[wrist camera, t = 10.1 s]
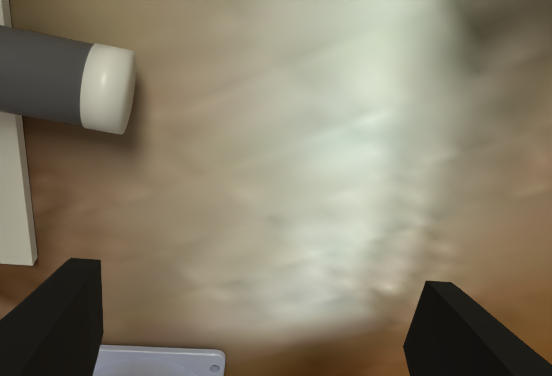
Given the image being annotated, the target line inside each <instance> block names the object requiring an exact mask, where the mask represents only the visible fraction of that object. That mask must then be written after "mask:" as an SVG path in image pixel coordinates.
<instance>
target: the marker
mask: <svg viewBox="0 0 552 376" xmlns="http://www.w3.org/2000/svg"><path fill="white" fill-rule="evenodd" d="M135 82H136V54H135V52H134V51H132V50H127V49H122V48H117V47H113V46H108V45H103V44H98V43H96V44H90V43H85V42H81V41H76V40H71V39H66V38H61V37H56V36H51V35H46V34H41V33H37V32H32V31H27V30H22V29H17V28H12V27H7V26H2V25H0V112H5V113H10V114H16V115H22V116H27V117H33V118H39V119H44V120H50V121H56V122H61V123H67V124H72V125H78V126H83V127H84V128H87V129H92V130H98V131H104V132H109V133H115V134H121V135H122V134H123V133H124V132H125V130H126V127H127V124H128V121H129V117H130V113H131V109H132V103H133V98H134V91H135Z"/></svg>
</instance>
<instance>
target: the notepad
mask: <svg viewBox="0 0 552 376" xmlns="http://www.w3.org/2000/svg"><path fill="white" fill-rule="evenodd" d="M0 25H2V26H7V27H12V24H11V15H10V6H9V0H0ZM37 258H38V256H37V247H36V238H35V229H34V220H33V212H32V203H31V194H30V185H29V176H28V167H27V158H26V149H25V140H24V131H23V122H22V115H16V114H10V113H5V112H0V264H15V265H32V266H33V264H34V263H35V261H36V259H37Z"/></svg>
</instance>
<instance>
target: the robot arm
mask: <svg viewBox="0 0 552 376" xmlns="http://www.w3.org/2000/svg"><path fill="white" fill-rule="evenodd" d="M102 337H103V308H102V282H101V260H94V259H78V258H70V259H69V260H67V261H66V262H65V263H64V264H63V265H62V266H60V267H59V268H58V269H57V270H56V271H55V272H54V273H53V274H52V275H51V276H50V277H49V278H47V279H46V280H45V281H44V282H43V283H42V284H41V285H40V286H39V287H38V288H37V289H35V290H34V291H33V292H32V293H31V294H30V295H29V296H28V297H27V298H25V299H24V300H23V301H22V302H21V303H20V304H19V305H17V306H16V307H15V308H14V309H13V310H12V311H11V312H9V313H8V314H7V315H6V316H5V317H4V318H2V319H1V320H0V376H224V369H225V354H224V352H222V351H220V350H212V349H189V348H165V347H142V346H118V345H101V341H102ZM403 348H404V352H405V356H406V361H407V365H408V369H409V373H410V376H552V365H551V364H550V363H549V362H548V361H546V360H545V359H544V358H543V357H541V356H540V355H539V354H538V353H536V352H535V351H534V350H533V349H531V348H530V347H529V346H528V345H527V344H525V343H524V342H523V341H522V340H520V339H519V338H518V337H517V336H516V335H514V334H513V333H512V332H511V331H510V330H509V329H507V328H506V327H505V326H504V325H503V324H501V323H500V322H499V321H498V320H497V319H496V318H494V317H493V316H492V315H491V314H490V313H488V312H487V311H486V310H485V309H484V308H483V307H481V306H480V305H479V304H478V303H477V302H475V301H474V300H473V299H472V298H471V297H469V296H468V295H467V294H466V293H465V292H463V291H462V290H461V289H460V288H458V287H457V286H456V285H454V284H453V283H451V282H439V281H426V282H425V285H424V288H423V291H422V294H421V296H420V299H419V302H418V305H417V308H416V311H415V314H414V317H413V320H412V322H411V325H410V328H409V331H408V334H407V337H406V340H405V343H404V345H403ZM213 365H217V366H213Z"/></svg>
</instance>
